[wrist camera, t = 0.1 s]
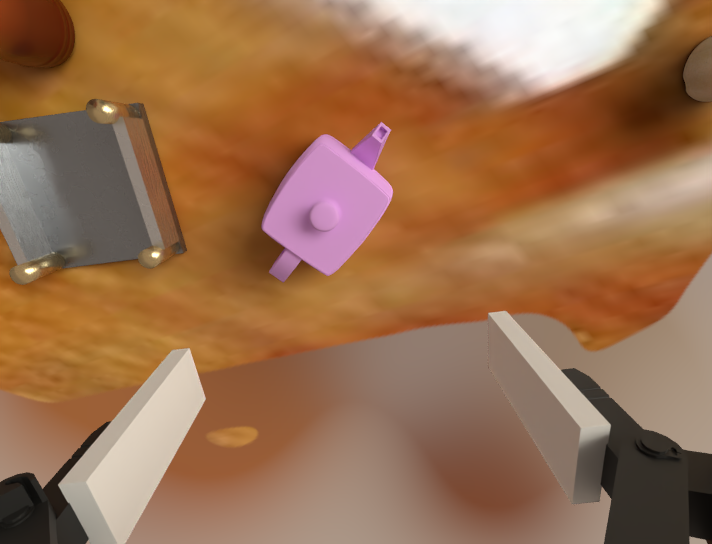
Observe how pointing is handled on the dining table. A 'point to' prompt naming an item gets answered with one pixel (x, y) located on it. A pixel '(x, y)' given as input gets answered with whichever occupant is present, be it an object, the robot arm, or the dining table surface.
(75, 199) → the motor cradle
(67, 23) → the mug
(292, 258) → the teapot
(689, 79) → the flower pot
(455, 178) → the dining table surface
